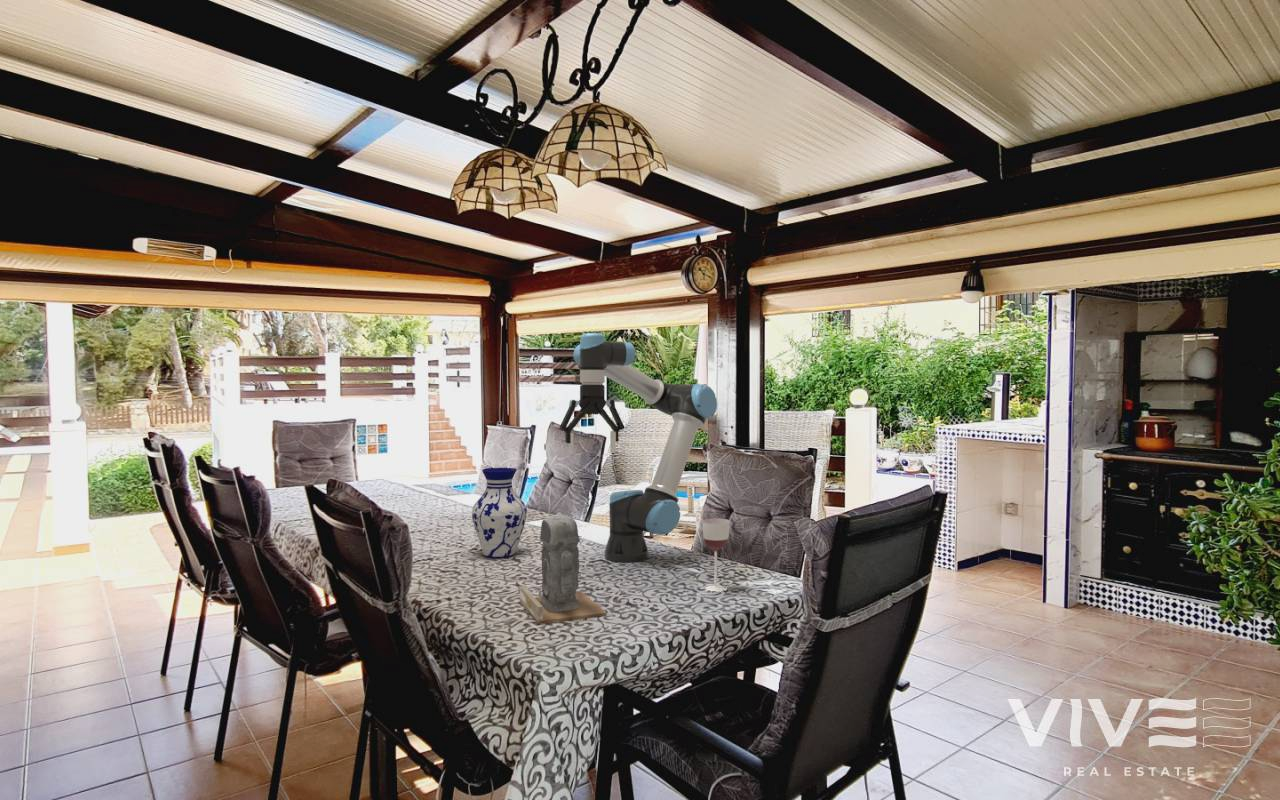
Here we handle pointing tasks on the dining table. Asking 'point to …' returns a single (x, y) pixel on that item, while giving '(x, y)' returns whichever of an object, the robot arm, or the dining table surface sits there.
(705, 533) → the wineglass
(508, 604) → the dining table surface
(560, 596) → the figurine
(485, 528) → the vase
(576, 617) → the shelf board
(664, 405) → the robot arm
